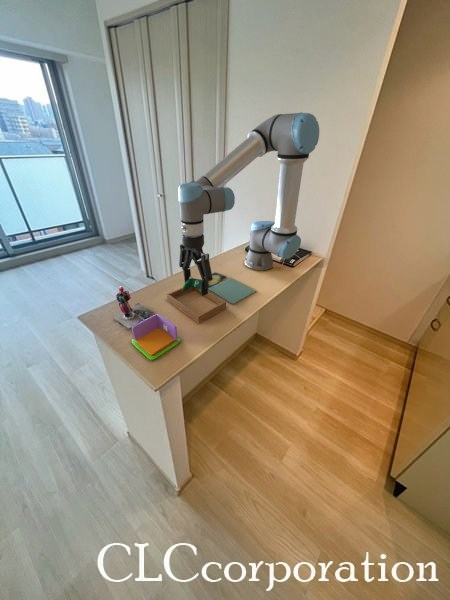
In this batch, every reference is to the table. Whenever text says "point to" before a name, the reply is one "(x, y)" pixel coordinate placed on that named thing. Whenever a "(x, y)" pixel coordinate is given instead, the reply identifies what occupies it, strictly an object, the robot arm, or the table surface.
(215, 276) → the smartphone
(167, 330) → the miniature room corner
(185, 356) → the table surface
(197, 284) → the gaming controller
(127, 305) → the statue
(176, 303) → the box
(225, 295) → the towel
